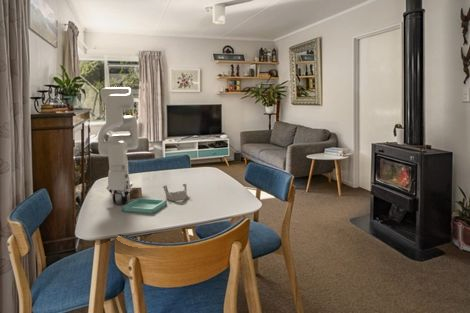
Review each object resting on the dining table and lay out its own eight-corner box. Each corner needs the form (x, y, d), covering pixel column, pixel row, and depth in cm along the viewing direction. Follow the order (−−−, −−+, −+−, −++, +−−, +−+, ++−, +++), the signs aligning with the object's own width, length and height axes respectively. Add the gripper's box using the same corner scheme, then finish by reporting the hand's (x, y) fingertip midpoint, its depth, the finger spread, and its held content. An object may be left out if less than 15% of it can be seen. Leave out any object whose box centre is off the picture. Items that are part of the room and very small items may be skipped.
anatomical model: (167, 202, 164) (165, 182, 166) (164, 204, 174) (162, 186, 176) (192, 198, 169) (189, 179, 171) (188, 201, 179) (185, 183, 181)
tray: (122, 211, 154) (121, 206, 154) (138, 202, 168) (138, 197, 167) (152, 214, 150) (152, 209, 150) (166, 204, 163) (166, 200, 163)
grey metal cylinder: (113, 204, 165) (112, 193, 164) (119, 201, 169) (118, 191, 168) (121, 205, 163) (120, 194, 162) (127, 202, 168) (126, 191, 167)
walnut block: (129, 199, 173) (129, 190, 173) (133, 196, 178) (132, 187, 177) (139, 199, 173) (138, 190, 172) (142, 196, 178) (141, 187, 177)
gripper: (136, 167, 164) (139, 201, 167) (107, 165, 169) (110, 199, 172) (127, 170, 157) (130, 206, 160) (98, 168, 162) (101, 204, 165)
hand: (120, 202), depth 166 cm, fingers closed on grey metal cylinder, 4 cm apart
